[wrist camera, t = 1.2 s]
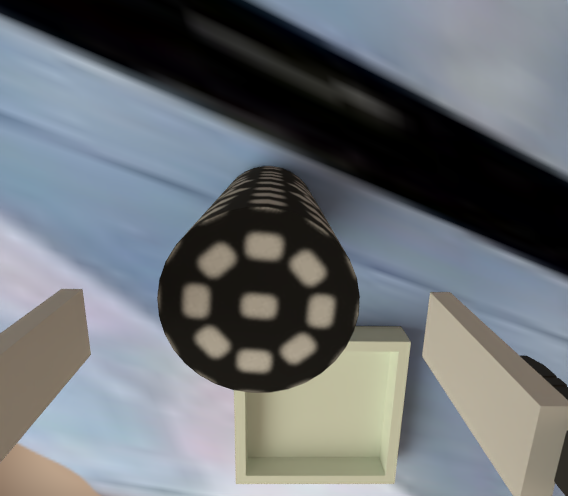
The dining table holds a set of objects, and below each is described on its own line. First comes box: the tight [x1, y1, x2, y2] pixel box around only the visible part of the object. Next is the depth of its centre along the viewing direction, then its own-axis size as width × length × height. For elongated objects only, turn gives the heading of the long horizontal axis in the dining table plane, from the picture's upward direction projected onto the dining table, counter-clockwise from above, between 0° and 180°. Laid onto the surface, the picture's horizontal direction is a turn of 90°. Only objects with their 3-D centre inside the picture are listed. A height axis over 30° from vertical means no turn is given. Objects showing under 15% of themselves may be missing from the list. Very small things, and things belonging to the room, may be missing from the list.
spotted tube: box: [157, 166, 360, 393], centre depth 26 cm, size 8×8×20 cm
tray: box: [234, 326, 411, 484], centre depth 40 cm, size 16×16×3 cm
